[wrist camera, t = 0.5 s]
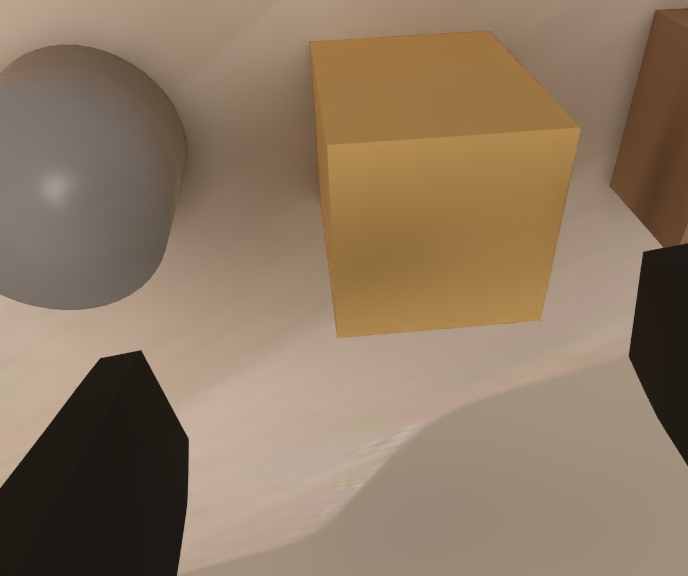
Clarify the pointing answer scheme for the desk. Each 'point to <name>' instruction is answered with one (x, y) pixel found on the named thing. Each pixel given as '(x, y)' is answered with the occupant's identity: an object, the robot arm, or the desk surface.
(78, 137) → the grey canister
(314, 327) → the desk surface
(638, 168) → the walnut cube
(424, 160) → the ochre block
